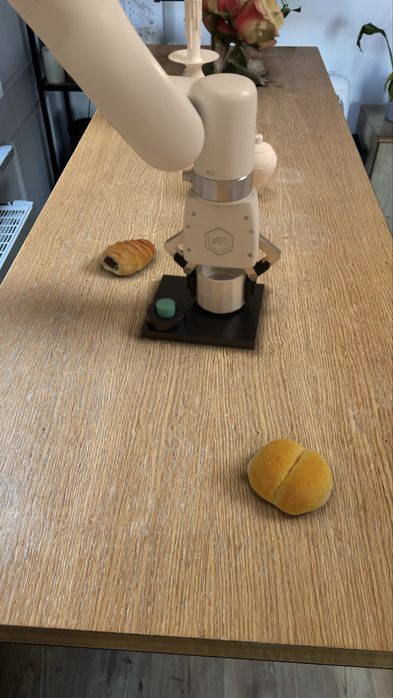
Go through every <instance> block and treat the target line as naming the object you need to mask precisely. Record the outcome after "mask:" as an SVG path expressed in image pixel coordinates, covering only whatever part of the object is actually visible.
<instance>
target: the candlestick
mask: <svg viewBox="0 0 393 698" xmlns="http://www.w3.org/2000/svg"><path fill="white" fill-rule="evenodd" d="M183 2H184V3H183V4H184V18H185V21H184V30H185V31H184V33H185V34H184V38H185V39H186V49H180V50H175V51H173V52H171V53H169V54H168V55H167V57H168V59H169V60H170V61H172V62H174V63H177V64H183V65H185V68H186V67H187V69H186V73H185V74H184V76H183V77H196V78H203V77H205V76H204V74H203V72H202V69H201V67H202V65H203V64H204V63H208V62H212V61H214V60H216V59H218V58H219V56H220V53H218V52H216V51H215V52H214V51H211V49H205V48H201V42H202V38H203V37H202V20H201V19H202V0H183Z"/></svg>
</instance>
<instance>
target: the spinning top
mask: <svg viewBox="0 0 393 698" xmlns="http://www.w3.org/2000/svg"><path fill="white" fill-rule="evenodd" d="M263 140H264V136H263V134H262V133H261V134H260V133H255V152H254V168H253V169H254V171H253V187H254V188H255V189H256V190H257V192H258V191H259V190H260V189H261V188H262V187H263V186H264V185H265V184H266V183H267V182H268V180H269V179H270V178H271V176H272V175H273V173H274V171H275V170H276V167H277V164H278V157H277V153H276V151H275V150H274V149H273V147H272V146H271V144H269V143H267V142H266V141H263Z"/></svg>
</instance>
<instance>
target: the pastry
mask: <svg viewBox="0 0 393 698" xmlns="http://www.w3.org/2000/svg"><path fill="white" fill-rule="evenodd" d="M155 255H156V247H155V244H153V242H151V241H150V240H149V239H146V238H137V239H134V238H132V239H129V240H128V239H124V240H123V241H116V242H115V243H114V244H112V245H111V244H109V245H107V247H106V248H105V249H104V250H103V252H102V253H101V255H100V257H99V263H100V264H101V266H102V268H103V269H104V270H106V271H109V272H111V273H113V274H115V275H116V276H130V275H134V274H135V273H136V272H139V271H141V270H143V269H144V267H146V266H147V265H148V264H150V262H151V261H152V260H153V259H154V257H155Z"/></svg>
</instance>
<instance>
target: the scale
mask: <svg viewBox="0 0 393 698" xmlns="http://www.w3.org/2000/svg"><path fill="white" fill-rule="evenodd" d="M265 288H266V284H265V283H259V282H256V292H255V296H254V295H251V296H250V301H249V303H246V302H245V303H244V304H243V305H242V307H241V308H239V309H237V310H235V311H233V312H229V313H214V312H210V311H208V310H205V309H203V308H202V307H201V306H200V305H199V304H198V302H197V299H196V297H194V298H191V297H190V289H187V286H186V275H176V274H175V275H174V274H162V276H161V279H160V282H159V284H158V287H157V288H156V291H155V294H154V296H153V299H152V301H151V303H150V304H148V305H147V308H146V311H145V319H144V322H143V323H142V327H141V329H140V334H141V338H143V339H151V340H161V341H169V342H178V343H187V344H197V345H206V346H214V347H223V348H232V349H241V350H249V351H255V349H256V344H257V337H258V332H259V327H260V326H259V325H260V320H261V319H260V318H261V313H262V307H263V301H264V295H265ZM164 298H168V299H171V300H173V301H174V302H175V314H174V315H173V316H172V317H167V318H165V317H160V316H158V314H157V308H156V303H157V302H158V301H159V300H160V299H164Z"/></svg>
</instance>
